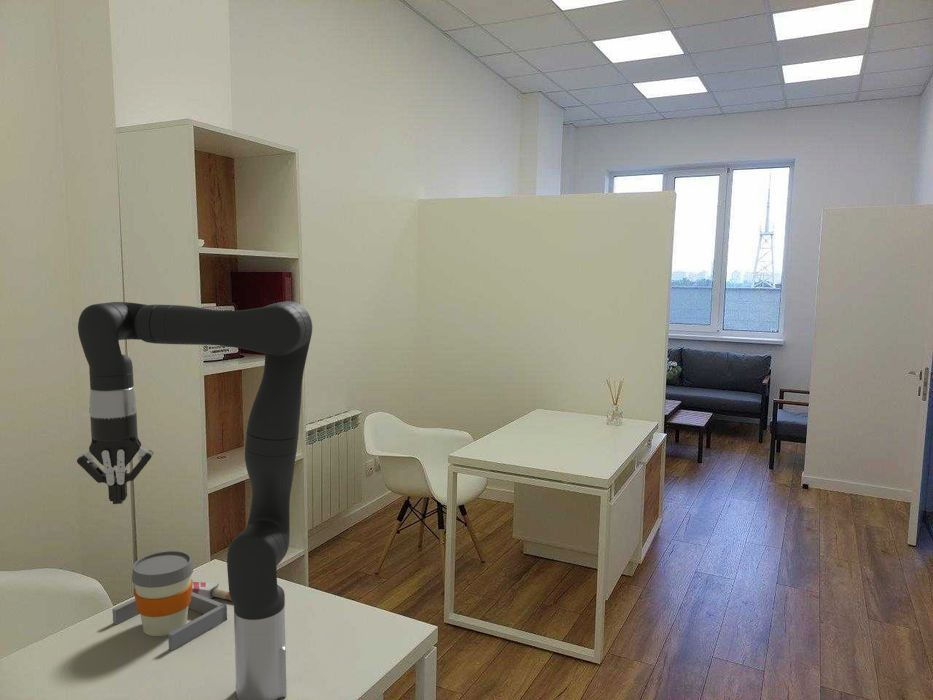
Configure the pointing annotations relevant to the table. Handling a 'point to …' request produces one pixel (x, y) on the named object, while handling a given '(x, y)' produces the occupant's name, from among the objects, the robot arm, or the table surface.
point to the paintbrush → (209, 590)
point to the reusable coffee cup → (163, 590)
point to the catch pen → (189, 631)
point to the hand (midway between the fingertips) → (118, 502)
